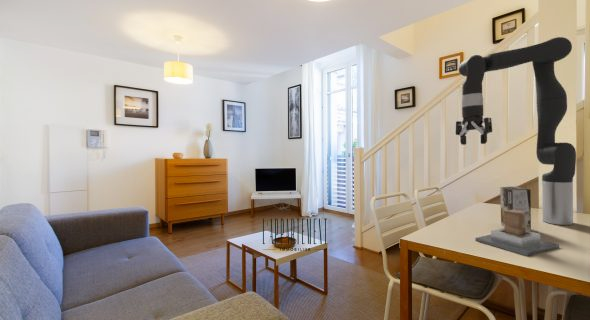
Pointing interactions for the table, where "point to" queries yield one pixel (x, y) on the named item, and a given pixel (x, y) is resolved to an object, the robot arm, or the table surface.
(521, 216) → the brown rectangular block
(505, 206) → the coffee box
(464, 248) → the table surface
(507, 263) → the table surface
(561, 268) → the table surface
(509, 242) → the stepped grey base plate
